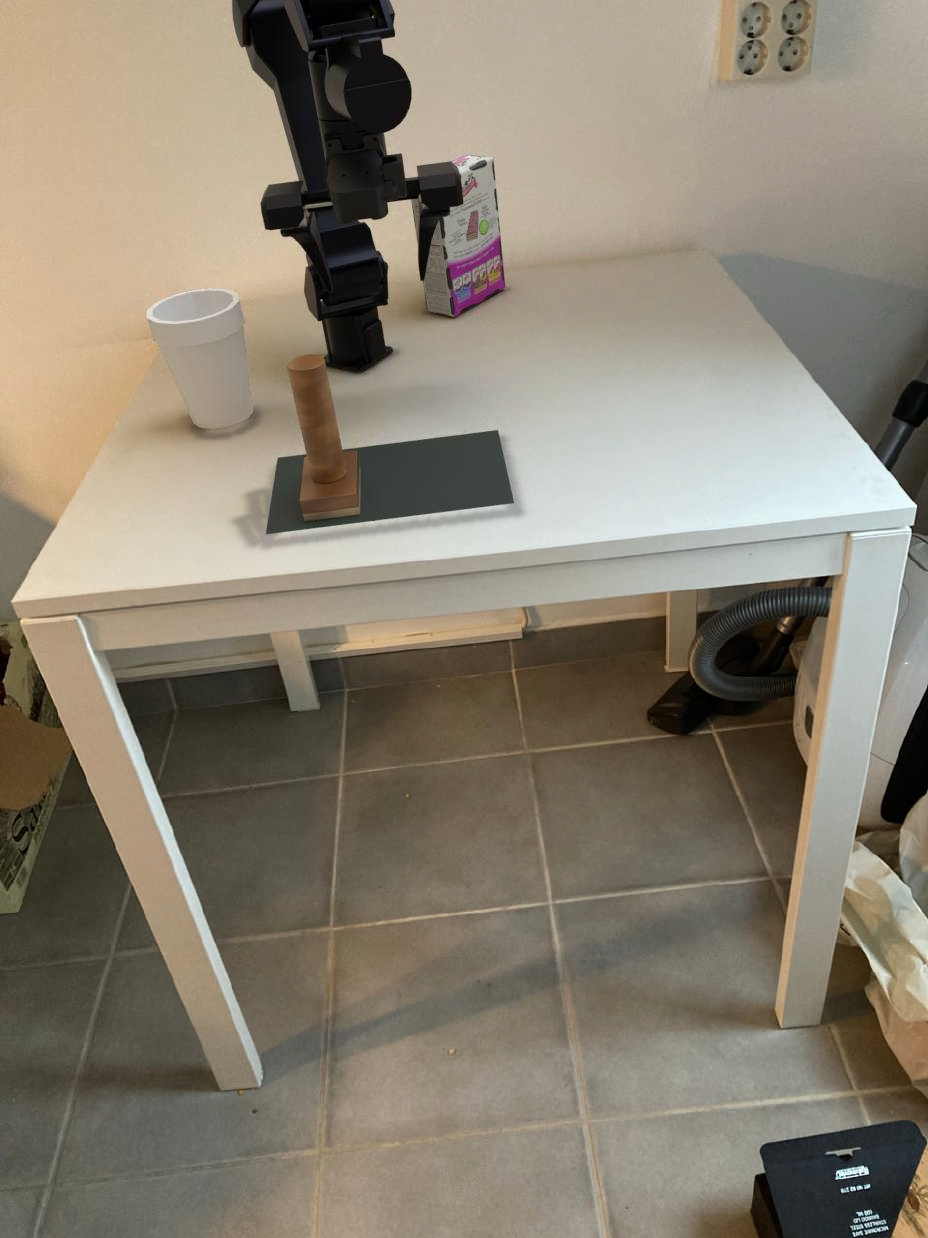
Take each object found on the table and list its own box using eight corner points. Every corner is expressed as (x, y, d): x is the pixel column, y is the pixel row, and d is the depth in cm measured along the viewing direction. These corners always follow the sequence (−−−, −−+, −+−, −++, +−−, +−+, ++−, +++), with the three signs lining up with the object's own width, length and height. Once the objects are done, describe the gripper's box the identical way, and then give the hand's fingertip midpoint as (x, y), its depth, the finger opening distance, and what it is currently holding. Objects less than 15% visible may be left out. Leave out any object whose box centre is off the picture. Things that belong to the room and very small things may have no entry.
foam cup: (194, 452, 102) (157, 331, 94) (172, 419, 109) (136, 304, 101) (280, 424, 105) (251, 305, 97) (253, 395, 112) (224, 281, 104)
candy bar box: (477, 283, 133) (464, 153, 123) (506, 289, 130) (496, 156, 120) (423, 312, 126) (406, 177, 116) (453, 319, 124) (438, 181, 114)
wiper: (304, 522, 87) (272, 385, 79) (308, 477, 93) (279, 346, 85) (360, 514, 87) (333, 377, 79) (360, 470, 93) (336, 339, 85)
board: (267, 543, 87) (265, 534, 86) (279, 466, 98) (277, 457, 97) (515, 512, 87) (514, 502, 86) (498, 438, 98) (498, 429, 97)
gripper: (237, 147, 82) (277, 327, 92) (458, 119, 82) (476, 302, 92) (250, 119, 91) (286, 286, 101) (450, 94, 91) (466, 263, 101)
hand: (376, 285), depth 98 cm, fingers open, 9 cm apart
